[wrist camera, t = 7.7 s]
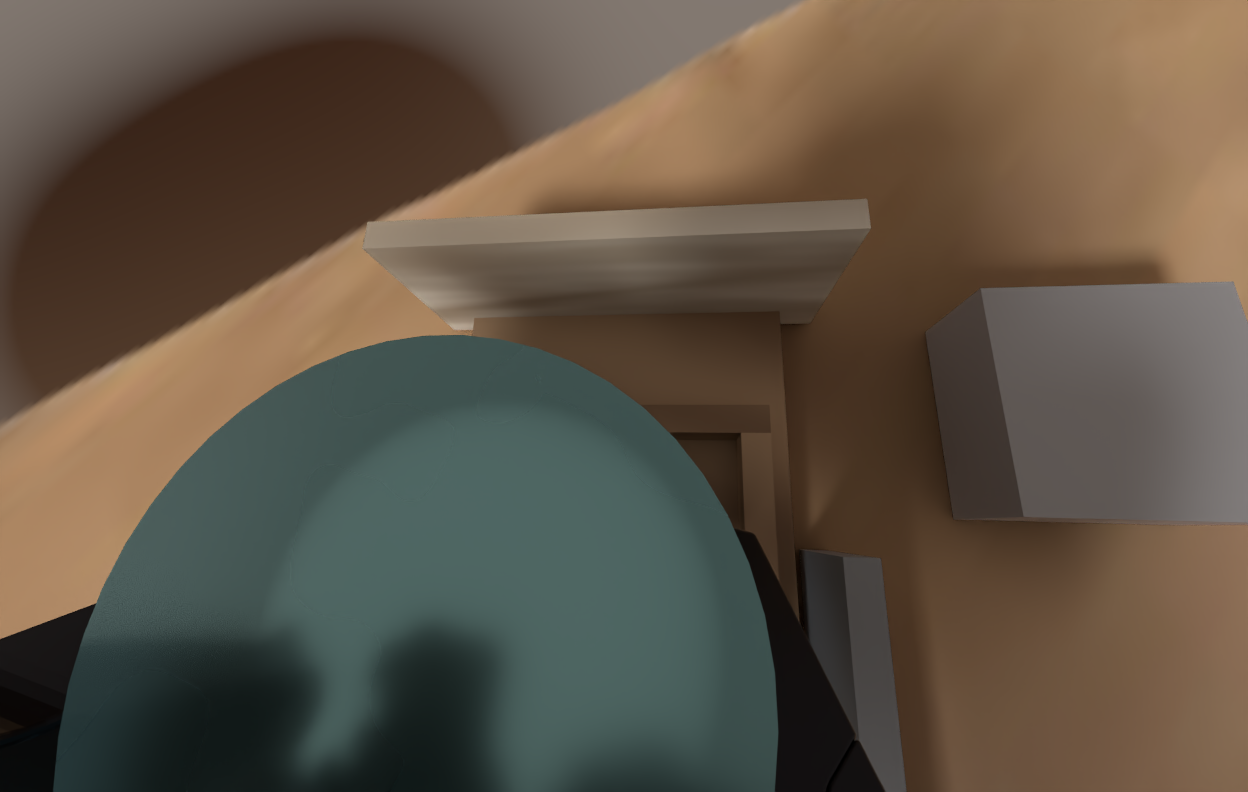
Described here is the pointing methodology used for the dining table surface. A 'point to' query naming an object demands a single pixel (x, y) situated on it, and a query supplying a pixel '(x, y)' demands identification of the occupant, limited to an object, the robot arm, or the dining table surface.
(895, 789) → the grey open box
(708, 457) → the beige piece
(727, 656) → the teal cylinder
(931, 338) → the block
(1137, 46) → the dining table surface
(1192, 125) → the dining table surface
